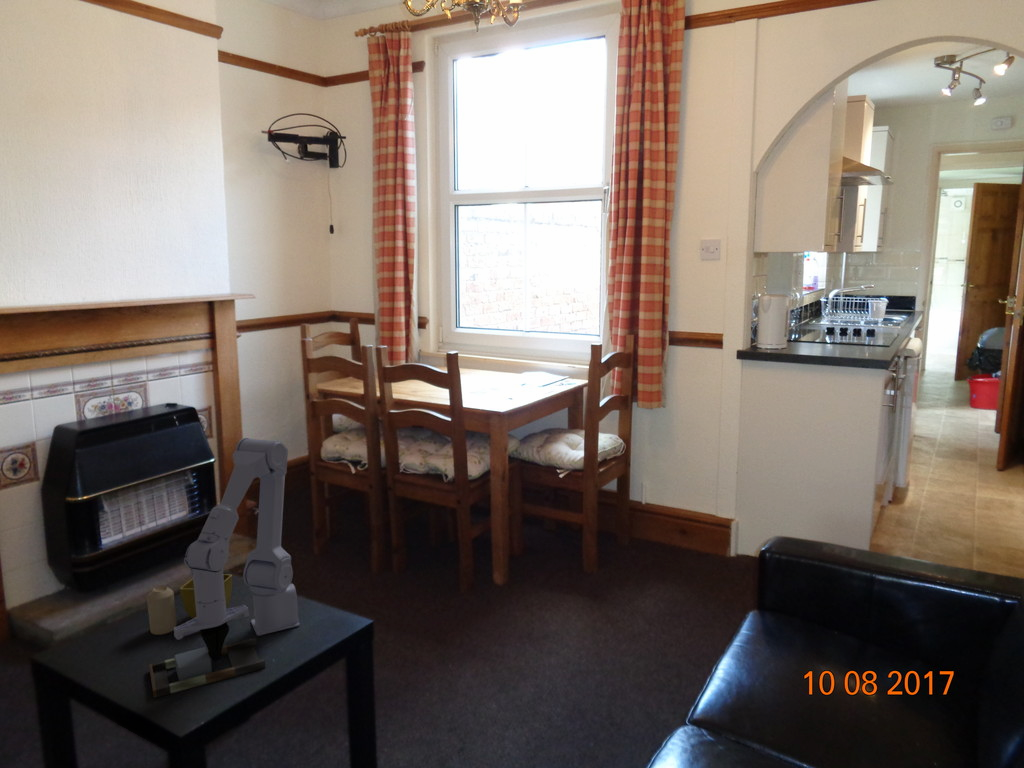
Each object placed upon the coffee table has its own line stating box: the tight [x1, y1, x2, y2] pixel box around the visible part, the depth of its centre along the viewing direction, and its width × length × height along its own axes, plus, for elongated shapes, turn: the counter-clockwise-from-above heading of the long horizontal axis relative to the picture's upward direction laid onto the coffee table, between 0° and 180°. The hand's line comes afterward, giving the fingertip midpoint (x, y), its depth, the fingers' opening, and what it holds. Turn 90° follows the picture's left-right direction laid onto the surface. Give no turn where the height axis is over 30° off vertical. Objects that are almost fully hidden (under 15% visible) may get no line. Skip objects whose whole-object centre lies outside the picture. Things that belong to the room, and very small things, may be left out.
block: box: [174, 646, 213, 681], centre depth 152 cm, size 6×6×4 cm
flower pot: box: [179, 573, 233, 620], centre depth 175 cm, size 9×9×9 cm
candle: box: [146, 585, 177, 636], centre depth 169 cm, size 6×6×10 cm
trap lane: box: [148, 637, 266, 699], centre depth 153 cm, size 21×11×2 cm, turn 119°
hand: (215, 658), depth 154 cm, fingers closed
